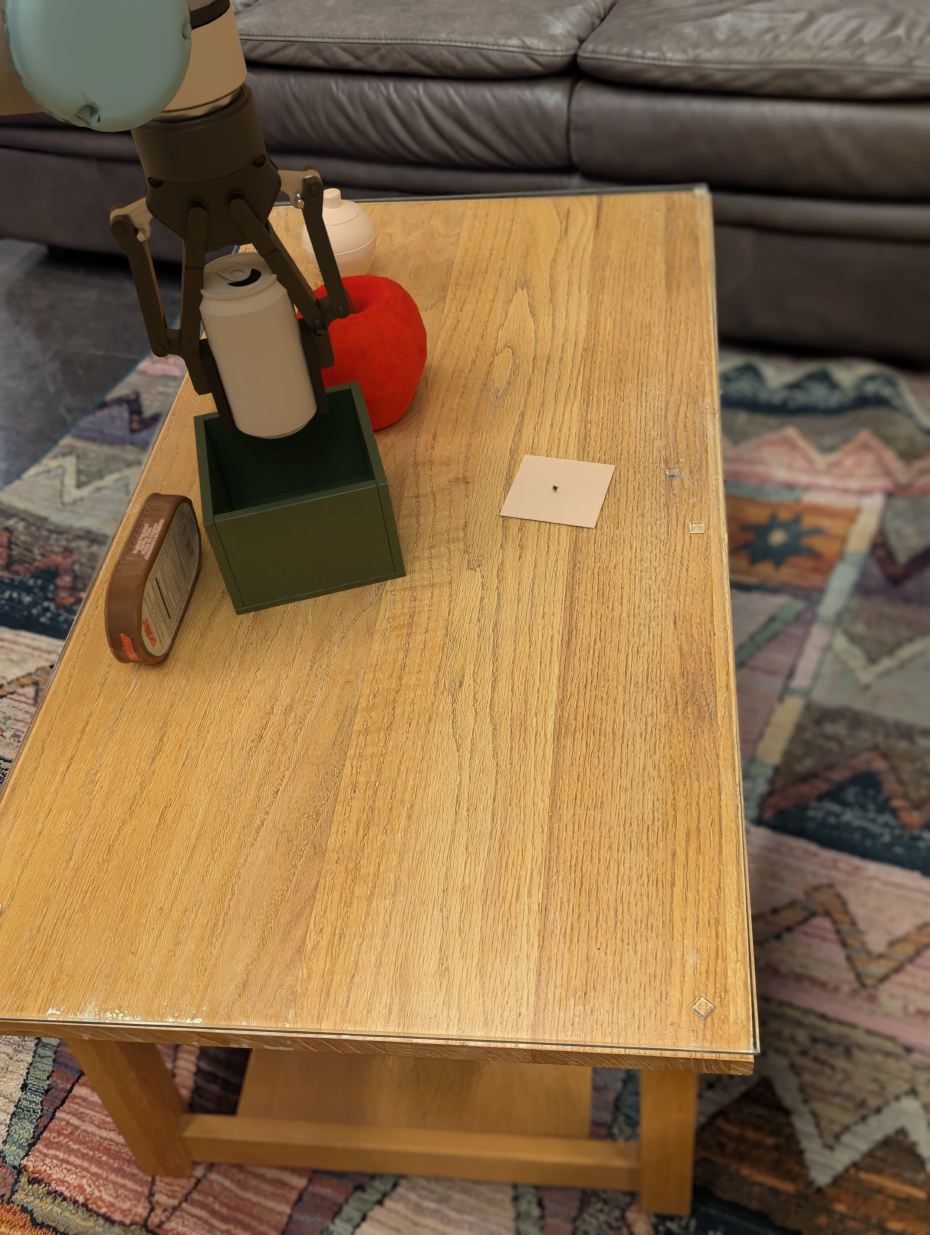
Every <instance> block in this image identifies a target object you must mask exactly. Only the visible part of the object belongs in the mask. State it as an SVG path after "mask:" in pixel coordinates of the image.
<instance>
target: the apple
mask: <svg viewBox="0 0 930 1235" xmlns="http://www.w3.org/2000/svg"><path fill="white" fill-rule="evenodd" d="M341 279H342V283H343V286H344V289H345V292H346V296H347V299H348V303H349V306H350V311H351V312H350V315H349V316H348V317H347V318H345V319H339V318H338V319H336V320H334V321H333V322H332V323H331V324H330V325H329V329H328V330H329V336H330V340H331V345H332V349H333V354H334V358H335V361H334V366H333V367H328V368H323V369H321V374H322V378H323V382H324V386H325V388H327V387H332V386H336V385H341V384H345V383H351V382H356V381H359V383H360V386H361V390H362V393H363V397H364V400H365V404H366V408H367V411H368V415H369V418H370V422H371V425H372V429H373V431H376V430H380V429H384V428H387V427H389V426H390V425H392V424H394V423H395V422H397V421H398V420H399V419H401V418H402V417H403V415H404V414H405V413H406V411H407V410H408V408H409V406H410V404H411V403H412V401H413V399H414V398H415V395H416V392H417V389H418V386H419V383H420V381H421V378H422V375H423V372H424V369H425V367H426V362H427V357H428V336H427V335H428V333H427V330H426V327H425V324H424V321H423V317H422V314H421V313H420V310H419V306H418V304H417V303H416V302H415V300H414V298H413V297H412V296H411V294H410V293H409V291H407V289H405V288H404V287H403V286H402V285H401V284H400V283H399V282H397V281H395V280H393V279H391V278H389V277H386V276H380V275H379V276H378V275H373V274H365V275H357V276H349V277H341ZM312 290H313V291H314V293H315V294H316V296H317V298H318V299H320V298H322V297H324V296H326V295H327V291H326V288H325V285H324V283H323V284H321V285H320V286H318V287H317V288H315V289H312ZM296 315H297V319H298V318H303V317H302V315H301V314H300V312H299V311H298V309H297V310H296Z"/></svg>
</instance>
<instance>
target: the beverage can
mask: <svg viewBox="0 0 930 1235" xmlns="http://www.w3.org/2000/svg"><path fill="white" fill-rule="evenodd" d="M200 291H201V294H202V302H201V305H200V312H201V325H202V327H203V331H204V334H205V338H207V340H208V343H209V347H210V350H211V353H212V356H213V359H214V362H215V365H216V368H217V372H218V375H219V378H220V381H221V384H222V387H223V390H224V393H225V397H226V400H227V403H228V406H229V409H230V412H231V415H232V418H233V421H234V423H235V425H236V426H237V428H238V429H239V430H241V431H242V432H244V433H246V434H249V435H252V436H257V437H260V438H267V439H274V438H281V437H285V436H289V435H291V434H294V433H296V432H298V431H299V430H301V429H302V428H303V427H304V426H305V425H306V424H307V423H308V421H309V420H310V419H311V418H312V417H313V416H314V414H315V412H316V410H317V406H318V402H317V398H316V394H315V389H314V385H313V381H312V377H311V373H310V369H309V365H308V361H307V357H306V353H305V348H304V344H303V340H302V336H301V332H300V327H299V323H298V319H297V315H296V313H297V310H296V306H295V305H294V303H293V302H292V300H291V299H290V297H289V296H288V294H287V290H286V289H285V288H284V287H283V286H282V285H281V284H280V282H279V281H278V279H277V275H276V274H275V275H274V273H273V272H272V270H271V269H270V267H269V266H268V265H267V263H266V262H265V260H264V259H263V257H261V256H260V255H259V254H258V252H257V251H241V252H235V253H230V254H227V255H223V256H221V257H218V258H216V259H214V260H212V261H210V262H208V263H207V264H205V268H204V275H203V290H200Z"/></svg>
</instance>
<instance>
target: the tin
mask: <svg viewBox="0 0 930 1235" xmlns="http://www.w3.org/2000/svg"><path fill="white" fill-rule="evenodd" d="M202 541H203V540H202V531H201V529H200V524H199V521H198V517H197V513H196V511H195V507H194V504H193V501H192V498H189V497H188V496H186V495H182V494H168V493H160V492H156V491H155V492H152V493H150V494H148V495H147V496H146V498H145V499H144V501H143V503H142V504H141V506H140V508H139V511H138V513H137V515H136V516H135V520H134V521H133V524H132V526H131V528H130V529H129V532H128V535H127V537H126V539H125V541H124V542H123V545H122V548H121V549H120V552H119V554H118V556H117V558H116V561H115V563H114V564H113V566H112V569H111V572H110V574H109V577H108V579H107V580H108V581H107V586H106V590H105V597H104V607H103V620H104V630H105V638H106V641H107V646H108V648H109V650H110V652H111V654H112V656H113V657H114V658H115V660H117V662H118V663H121V664H123V665H124V664H125V665H128V664H145V665H147V664H148V665H150V664H151V665H152V664H158V663H160V662H161V661H163V660H164V659H165V658H166V656H168V654H169V652H170V650H171V648H172V647H173V646H172V645H173V643H174V641H175V638H176V636H177V633H178V631H179V628H180V625H181V623H182V621H183V618H184V615H185V613H186V610H187V607H188V605H189V602H190V599H191V597H192V594H193V591H194V589H195V586H196V583H197V580H198V577H199V574H200V568H201V563H202V562H201V561H202V553H203V552H202V550H203V544H202V543H203V542H202Z"/></svg>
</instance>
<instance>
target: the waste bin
mask: <svg viewBox="0 0 930 1235" xmlns="http://www.w3.org/2000/svg"><path fill="white" fill-rule="evenodd" d="M325 391H326V395H327V399H328V403H329V408H330V412H331V413H327V414H322V415H321V414H320V410H319V406H317V410H316V412H315V414H314V416H313V417H312V418H311V419H310V420H309V421H308V423H307V424H306V425H305V426H304V427H303V428H302V429H301V430H299V431H298V432H296V433H294V434H291V435H289V436H285V437H281V438H274V439H267V438H260V437H257V436H252V435H249V434H246V433H244V432H242V431H241V430H239V429H238V428H237V426H236V425H235V423H234V425H235V433H236V434H231V435H227V436H225V433H224V430H223V427H222V424H221V421H220V417H219V414H218V411H217V410H216V411H212V412H207V413H204V414H198V415H194V416H193V426H194V427H193V428H194V437H195V440H194V441H195V450H196V451H195V452H196V459H197V472H198V483H199V484H198V486H199V495H200V506H201V507H200V508H201V517H202V526H203V529H204V531H205V535H206V537H207V539H208V542H209V545H210V547H211V549H212V552H213V555H214V558H215V560H216V563H217V566H218V569H219V571H220V574H221V578H222V579H223V582H224V585H225V587H226V590H227V592H228V595H229V598H230V601H231V603H232V606H233V608H234V611H235V614H236V615H237V616H239V615H244V614H249V613H253V612H257V611H261V610H266V609H271V608H274V607H278V606H283V605H286V604H291V603H295V602H299V601H304V600H308V599H313V598H317V597H322V596H326V595H329V594H333V593H339V592H344V591H347V590H352V589H355V588H360V587H365V586H367V585H368V586H369V585H372V584H377V583H382V582H385V581H389V580H395V579H398V578H403V577H406V576H407V574H406V573H407V572H406V569H405V562H404V558H403V552H402V548H401V542H400V538H399V532H398V527H397V522H396V517H395V512H394V506H393V503H392V497H391V492H390V487H389V482H388V479H387V476H386V471H385V468H384V464H383V461H382V457H381V454H380V451H379V450H380V449H379V447H378V443H377V439H376V437H375V436H376V435H375V432H374V430H373V429H372V425H371V422H370V418H369V415H368V411H367V408H366V404H365V400H364V397H363V393H362V390H361V386H360V383H359V381H356V382H351V383H345V384H341V385H336V386H332V387H327V388H325Z"/></svg>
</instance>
